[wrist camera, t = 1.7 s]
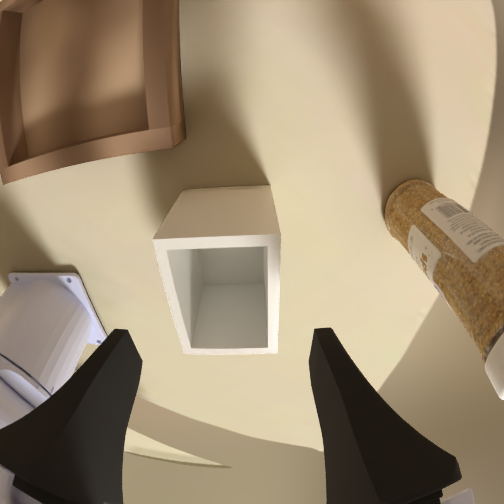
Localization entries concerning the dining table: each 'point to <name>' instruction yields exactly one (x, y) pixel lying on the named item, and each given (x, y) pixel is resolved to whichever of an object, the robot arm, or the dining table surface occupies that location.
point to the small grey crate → (222, 269)
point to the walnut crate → (87, 82)
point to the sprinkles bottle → (456, 263)
